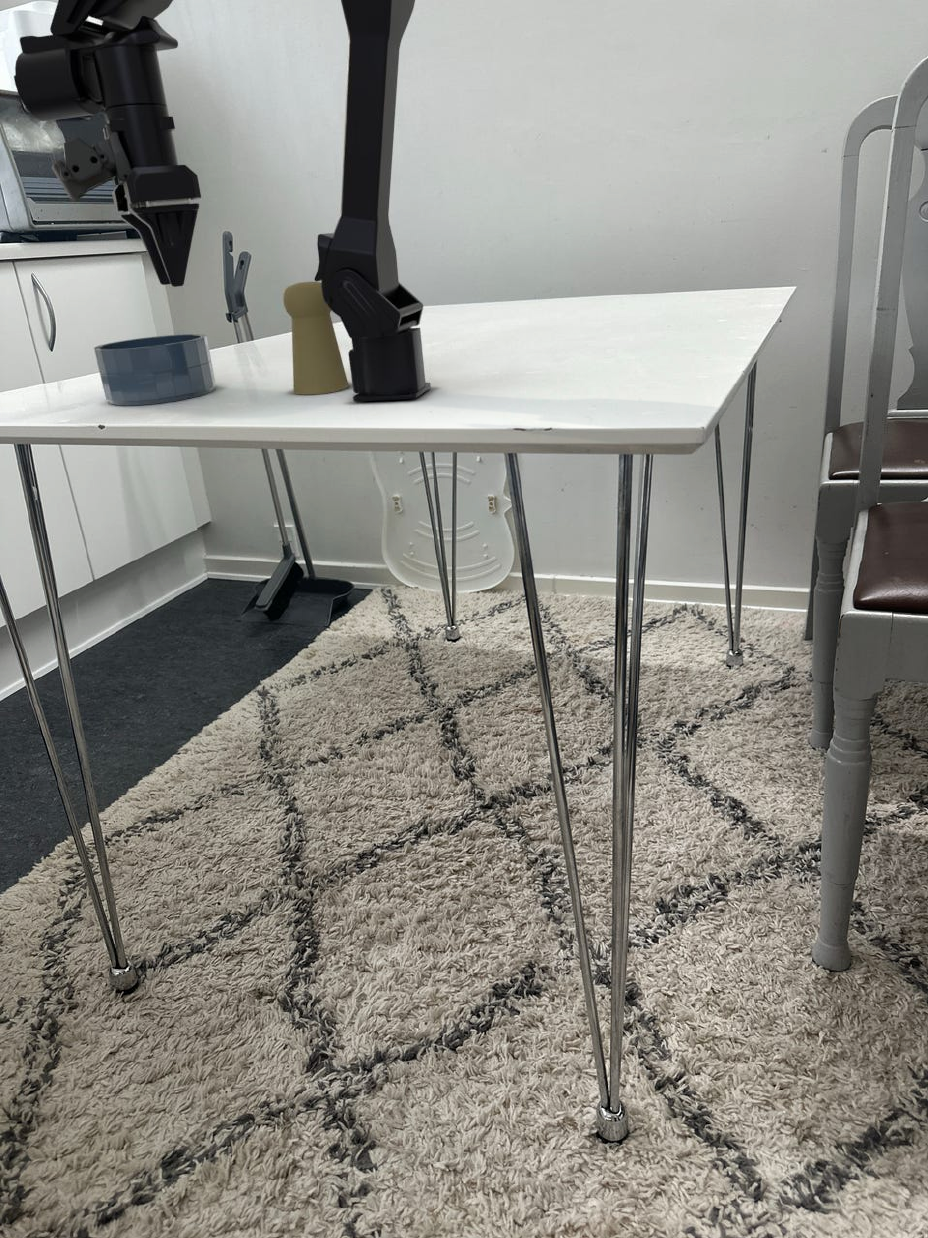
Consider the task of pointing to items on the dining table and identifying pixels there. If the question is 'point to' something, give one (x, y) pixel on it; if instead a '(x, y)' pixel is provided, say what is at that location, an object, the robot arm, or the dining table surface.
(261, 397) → the dining table surface
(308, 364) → the cork
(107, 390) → the bowl
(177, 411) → the dining table surface
